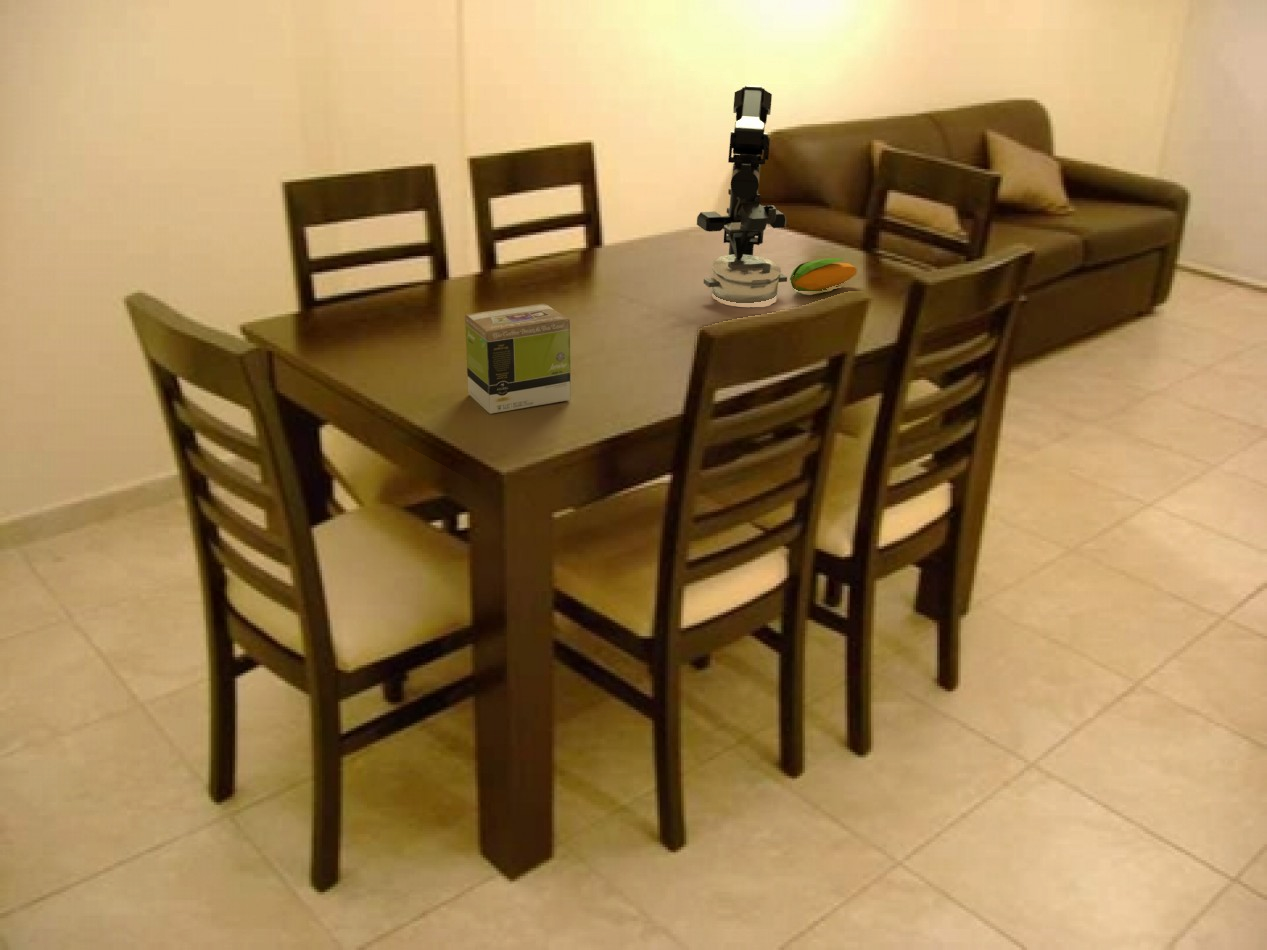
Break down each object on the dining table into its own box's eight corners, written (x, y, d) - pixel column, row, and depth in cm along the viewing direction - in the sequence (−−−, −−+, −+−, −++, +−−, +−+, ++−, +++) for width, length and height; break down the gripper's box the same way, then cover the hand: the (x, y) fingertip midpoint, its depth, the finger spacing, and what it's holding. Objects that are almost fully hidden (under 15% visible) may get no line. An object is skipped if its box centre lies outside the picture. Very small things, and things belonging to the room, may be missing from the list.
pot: (692, 291, 262) (694, 269, 260) (768, 286, 268) (770, 264, 266) (718, 311, 251) (720, 287, 248) (796, 304, 257) (799, 281, 254)
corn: (783, 259, 260) (845, 247, 272) (778, 293, 264) (839, 279, 275) (808, 270, 255) (870, 256, 267) (802, 303, 259) (864, 289, 271)
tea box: (546, 382, 211) (547, 301, 204) (571, 402, 203) (572, 318, 196) (466, 394, 204) (464, 311, 198) (488, 416, 196) (486, 329, 190)
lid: (702, 260, 260) (703, 249, 259) (762, 256, 265) (764, 245, 264) (729, 287, 248) (731, 275, 247) (792, 283, 253) (794, 271, 252)
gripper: (719, 198, 243) (713, 272, 250) (801, 194, 249) (793, 267, 256) (698, 185, 253) (693, 257, 260) (778, 182, 259) (770, 252, 266)
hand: (738, 258), depth 260 cm, fingers closed, pressing on lid
